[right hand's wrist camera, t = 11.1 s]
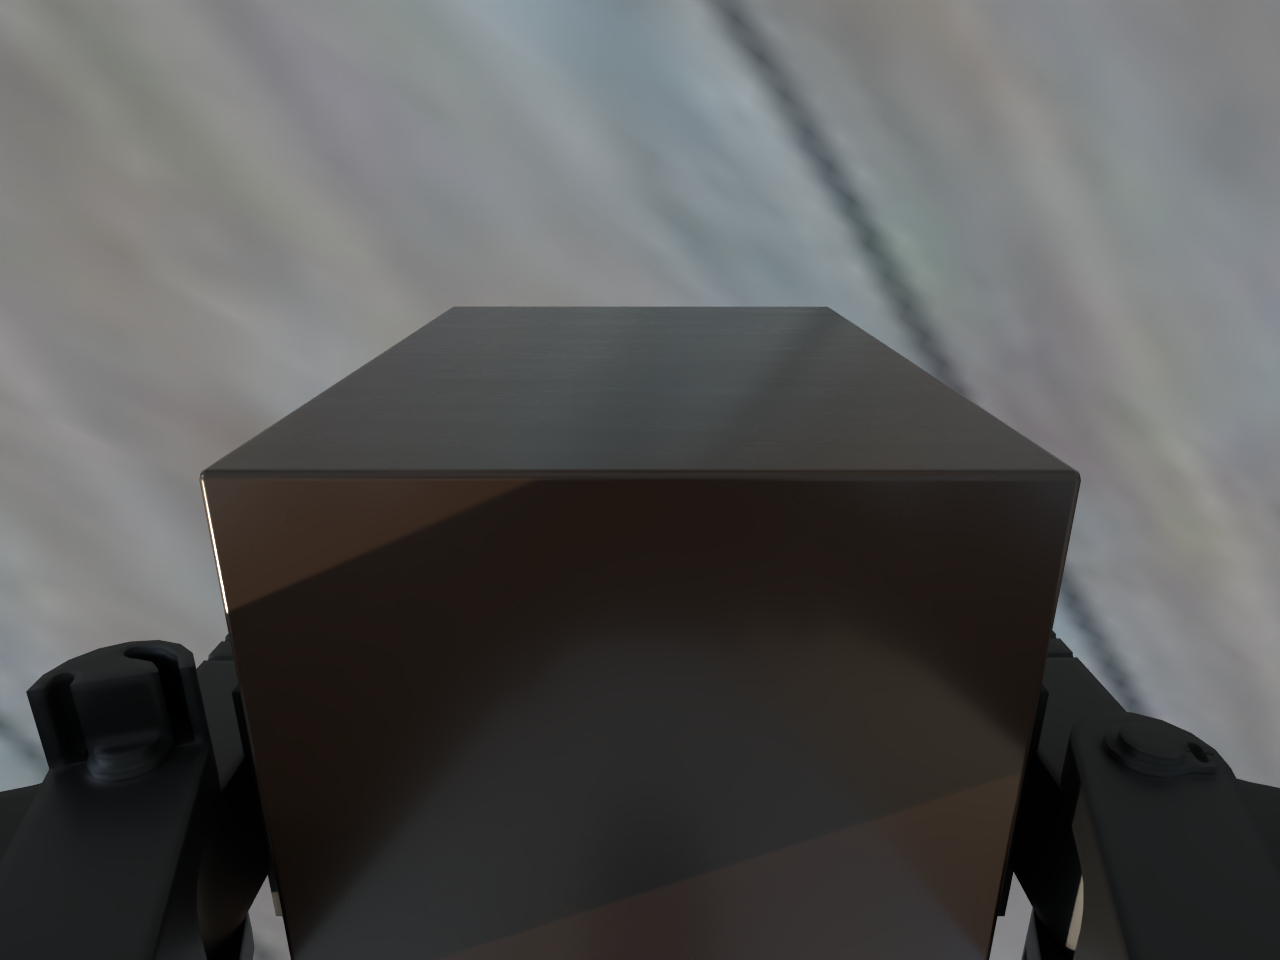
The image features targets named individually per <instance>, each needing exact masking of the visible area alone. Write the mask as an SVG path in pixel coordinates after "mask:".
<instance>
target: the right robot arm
mask: <svg viewBox="0 0 1280 960" xmlns="http://www.w3.org/2000/svg"><path fill="white" fill-rule="evenodd" d="M26 693H27V696H28V699H29V703H30V706H31V709H32V713H33V716H34V719H35V723H36V726H37V729H38V733H39V736H40V739H41V743H42V746H43V749H44V753H45V756H46V759H47V763H48V766H49V771H48V773H47V775H46V777H45V779H44V781H43V782H42V783H40V784H37V785H33V786H28V787H23V788H18V789H13V790H8V791H3V792H0V960H253V953H254V941H253V933H252V927H251V923H250V918H249V913H248V910H249V908H250V907H251V905H252V903H253V901H254V899H255V897H256V895H257V894H258V892H259V890H260V888H261V886H262V884H263V882H264V880H265V879H266V877H267V875H268V878H269V883H270V888H271V893H272V898H273V903H274V908H275V913H276V916H283V915H282V909H281V904H280V899H279V894H278V888H277V883H276V878H275V873H274V867H273V862H272V857H271V852H270V847H269V841H268V836H267V831H266V826H265V820H264V815H263V810H262V805H261V799H260V794H259V789H258V784H257V778H256V773H255V768H254V763H253V758H252V752H251V747H250V742H249V737H248V731H247V726H246V721H245V716H244V710H243V705H242V700H241V695H240V689H239V684H238V679H237V674H236V669H235V663H234V658H233V653H232V648H231V642H230V637H229V634H228V635H227V636H226V640H225V641H221V643H220V644H219V645H218V646H217V647H216V648H215V649H214V650H213V651H212V652H211V654H210V655H209V659H208V661H203V662H202V664H201V665H200V666H199V667H198V668H197V669H196V666H195V661H194V657H193V653H192V652H191V651H189V650H188V649H186V648H185V647H184V646H182V645H181V644H177V643H172V642H166V641H161V640H151V641H133V642H127V643H122V644H118V645H113V646H109V647H104V648H99V649H97V650H94V651H91V652H89V653H86V654H84V655H81V656H78V657H76V658H73V659H70V660H68V661H66V662H65V663H63V664H61V665H59V666H58V667H56V668H54V669H53V670H51V671H49V672H47V673H46V674H44V675H43V676H42V677H41V678H40V679H39V680H38V681H37V682H36V683H35V684H34V685H33V686H32V687H31V688H29V689H28V690H27V691H26ZM1013 871H1014V873H1015V875H1016V877H1017V879H1018V880H1019V882H1020V884H1021V886H1022V888H1023V890H1024V892H1025V893H1026V895H1027V897H1028V899H1029V901H1030V903H1031V905H1032V906H1033V909H1032V913H1031V918H1030V923H1029V927H1028V932H1027V937H1026V941H1025V946H1024V951H1023V955H1022V960H1280V788H1277V787H1272V786H1267V785H1262V784H1257V783H1252V782H1248V781H1244V780H1240V779H1236V777H1235V775H1234V773H1233V771H1232V769H1231V768H1230V767H1229V765H1228V764H1227V763H1226V762H1225V761H1224V759H1223V758H1222V757H1221V756H1220V755H1219V753H1218V752H1217V751H1216V750H1215V749H1214V748H1212V747H1211V746H1209V745H1208V744H1206V743H1205V742H1203V741H1202V740H1200V739H1199V738H1198V737H1196V736H1195V735H1193V734H1192V733H1190V732H1188V731H1185V730H1183V729H1181V728H1178V727H1176V726H1174V725H1172V724H1169V723H1167V722H1165V721H1163V720H1159V719H1155V718H1151V717H1147V716H1143V715H1140V714H1136V713H1130V712H1126V711H1125V710H1124V708H1123V707H1122V706H1121V705H1120V704H1119V703H1118V702H1117V701H1116V700H1115V699H1114V697H1113V696H1112V695H1111V694H1110V693H1109V692H1108V691H1107V690H1106V689H1105V688H1104V686H1103V685H1102V684H1101V683H1100V682H1099V681H1098V680H1097V679H1096V678H1095V677H1094V675H1093V674H1092V673H1091V672H1090V671H1089V670H1088V669H1087V668H1086V667H1085V666H1084V664H1083V663H1082V662H1081V661H1080V660H1079V659H1078V658H1077V657H1073V652H1072V651H1071V650H1070V649H1069V648H1068V647H1067V646H1066V645H1065V644H1064V643H1063V641H1062V640H1061V639H1056V634H1055V633H1054V632H1053V630H1052V634H1051V639H1050V644H1049V649H1048V654H1047V660H1046V665H1045V670H1044V675H1043V681H1042V686H1041V691H1040V696H1039V701H1038V707H1037V712H1036V717H1035V722H1034V728H1033V733H1032V738H1031V743H1030V748H1029V754H1028V759H1027V764H1026V769H1025V775H1024V780H1023V785H1022V790H1021V795H1020V801H1019V806H1018V811H1017V816H1016V822H1015V827H1014V832H1013V837H1012V842H1011V848H1010V853H1009V858H1008V863H1007V868H1006V874H1005V879H1004V884H1003V889H1002V895H1001V900H1000V905H999V910H998V915H997V916H1005V911H1006V906H1007V901H1008V896H1009V891H1010V886H1011V881H1012V876H1013Z"/></svg>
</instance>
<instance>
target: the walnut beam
mask: <svg viewBox="0 0 1280 960" xmlns="http://www.w3.org/2000/svg"><path fill="white" fill-rule="evenodd" d="M1080 482H1081V479H1080V474H1079V472H1078V471H1076V470H1075V469H1073V468H1072V467H1070V466H1069V465H1067V464H1066V463H1064V462H1063V461H1061V460H1060V459H1058V458H1057V457H1055V456H1054V455H1052V454H1051V453H1049V452H1048V451H1046V450H1044V449H1043V448H1041V447H1040V446H1038V445H1037V444H1035V443H1034V442H1032V441H1031V440H1029V439H1028V438H1026V437H1025V436H1023V435H1022V434H1020V433H1019V432H1017V431H1016V430H1014V429H1013V428H1011V427H1010V426H1008V425H1006V424H1005V423H1003V422H1002V421H1000V420H999V419H997V418H996V417H994V416H993V415H991V414H990V413H988V412H987V411H985V410H984V409H982V408H981V407H979V406H978V405H976V404H975V403H973V402H972V401H970V400H969V399H967V398H965V397H964V396H962V395H961V394H959V393H958V392H956V391H955V390H953V389H952V388H950V387H949V386H947V385H946V384H944V383H943V382H941V381H940V380H938V379H937V378H935V377H934V376H932V375H931V374H929V373H927V372H926V371H924V370H923V369H921V368H920V367H918V366H917V365H915V364H914V363H912V362H911V361H909V360H908V359H906V358H905V357H903V356H902V355H900V354H899V353H897V352H896V351H894V350H893V349H891V348H890V347H888V346H886V345H885V344H883V343H882V342H880V341H879V340H877V339H876V338H874V337H873V336H871V335H870V334H868V333H867V332H865V331H864V330H862V329H861V328H859V327H858V326H856V325H855V324H853V323H852V322H850V321H848V320H847V319H845V318H844V317H842V316H841V315H839V314H838V313H836V312H835V311H833V310H832V309H830V308H828V307H453V308H451V309H449V310H448V311H446V312H445V313H443V314H442V315H440V316H439V317H437V318H436V319H434V320H432V321H431V322H429V323H428V324H426V325H425V326H423V327H422V328H420V329H419V330H417V331H416V332H414V333H413V334H411V335H410V336H408V337H406V338H405V339H403V340H402V341H400V342H399V343H397V344H396V345H394V346H393V347H391V348H390V349H388V350H387V351H385V352H384V353H382V354H380V355H379V356H377V357H376V358H374V359H373V360H371V361H370V362H368V363H367V364H365V365H364V366H362V367H361V368H359V369H358V370H356V371H354V372H353V373H351V374H350V375H348V376H347V377H345V378H344V379H342V380H341V381H339V382H338V383H336V384H335V385H333V386H332V387H330V388H329V389H327V390H325V391H324V392H322V393H321V394H319V395H318V396H316V397H315V398H313V399H312V400H310V401H309V402H307V403H306V404H304V405H303V406H301V407H299V408H298V409H296V410H295V411H293V412H292V413H290V414H289V415H287V416H286V417H284V418H283V419H281V420H280V421H278V422H277V423H275V424H273V425H272V426H270V427H269V428H267V429H266V430H264V431H263V432H261V433H260V434H258V435H257V436H255V437H254V438H252V439H251V440H249V441H247V442H246V443H244V444H243V445H241V446H240V447H238V448H237V449H235V450H234V451H232V452H231V453H229V454H228V455H226V456H225V457H223V458H221V459H220V460H218V461H217V462H215V463H214V464H212V465H211V466H209V467H208V468H206V469H205V470H203V471H202V472H201V474H200V485H201V490H202V496H203V501H204V506H205V511H206V517H207V522H208V527H209V532H210V538H211V543H212V548H213V553H214V559H215V564H216V569H217V574H218V579H219V585H220V590H221V595H222V600H223V606H224V611H225V616H226V621H227V627H228V632H229V637H230V642H231V648H232V653H233V658H234V663H235V669H236V674H237V679H238V684H239V689H240V695H241V700H242V705H243V710H244V716H245V721H246V726H247V731H248V737H249V742H250V747H251V752H252V758H253V763H254V768H255V773H256V778H257V784H258V789H259V794H260V799H261V805H262V810H263V815H264V820H265V826H266V831H267V836H268V841H269V847H270V852H271V857H272V862H273V867H274V873H275V878H276V883H277V888H278V894H279V899H280V904H281V909H282V915H283V920H284V925H285V930H286V936H287V941H288V946H289V951H290V957H291V960H989V957H990V952H991V947H992V942H993V936H994V931H995V926H996V921H997V915H998V910H999V905H1000V900H1001V895H1002V889H1003V884H1004V879H1005V874H1006V868H1007V863H1008V858H1009V853H1010V848H1011V842H1012V837H1013V832H1014V827H1015V822H1016V816H1017V811H1018V806H1019V801H1020V795H1021V790H1022V785H1023V780H1024V775H1025V769H1026V764H1027V759H1028V754H1029V748H1030V743H1031V738H1032V733H1033V728H1034V722H1035V717H1036V712H1037V707H1038V701H1039V696H1040V691H1041V686H1042V681H1043V675H1044V670H1045V665H1046V660H1047V654H1048V649H1049V644H1050V639H1051V634H1052V628H1053V623H1054V618H1055V613H1056V608H1057V602H1058V597H1059V592H1060V587H1061V581H1062V576H1063V571H1064V566H1065V561H1066V555H1067V550H1068V545H1069V540H1070V534H1071V529H1072V524H1073V519H1074V514H1075V508H1076V503H1077V498H1078V493H1079V487H1080Z"/></svg>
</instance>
